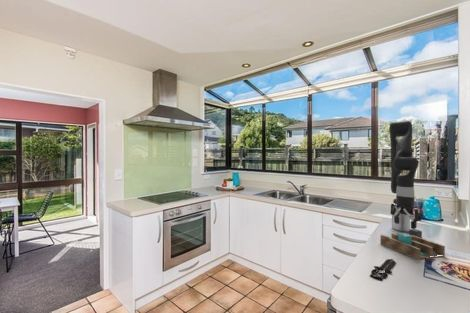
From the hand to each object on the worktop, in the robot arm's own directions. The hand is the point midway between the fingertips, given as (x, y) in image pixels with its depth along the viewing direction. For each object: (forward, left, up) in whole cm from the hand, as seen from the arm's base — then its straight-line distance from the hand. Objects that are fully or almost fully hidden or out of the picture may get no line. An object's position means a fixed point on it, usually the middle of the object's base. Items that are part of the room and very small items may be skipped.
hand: (404, 225), depth 116 cm
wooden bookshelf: (0, +4, -13) cm, 13 cm away
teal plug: (0, 0, -12) cm, 12 cm away
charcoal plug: (-7, +17, -13) cm, 22 cm away
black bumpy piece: (+13, -28, -13) cm, 34 cm away
